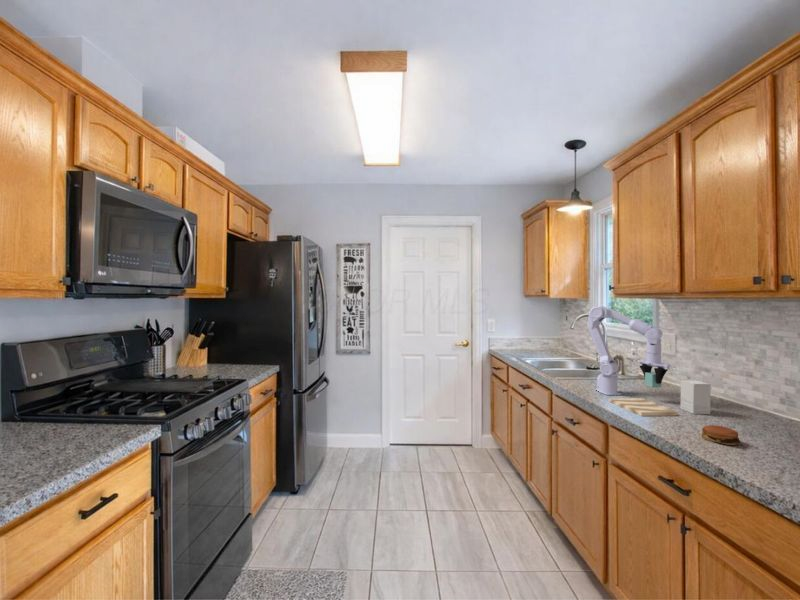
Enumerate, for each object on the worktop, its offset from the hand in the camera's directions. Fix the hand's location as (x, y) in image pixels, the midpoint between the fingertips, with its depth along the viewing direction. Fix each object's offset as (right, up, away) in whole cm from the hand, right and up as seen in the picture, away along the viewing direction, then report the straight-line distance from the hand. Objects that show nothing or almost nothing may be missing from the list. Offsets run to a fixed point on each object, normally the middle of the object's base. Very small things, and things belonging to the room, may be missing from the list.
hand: (653, 382), depth 170 cm
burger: (-10, -9, -48) cm, 50 cm away
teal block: (0, -2, 0) cm, 2 cm away
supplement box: (+7, -9, -15) cm, 19 cm away
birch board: (-13, -9, -12) cm, 20 cm away
